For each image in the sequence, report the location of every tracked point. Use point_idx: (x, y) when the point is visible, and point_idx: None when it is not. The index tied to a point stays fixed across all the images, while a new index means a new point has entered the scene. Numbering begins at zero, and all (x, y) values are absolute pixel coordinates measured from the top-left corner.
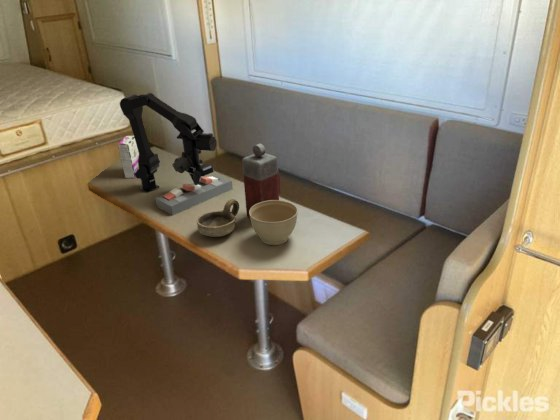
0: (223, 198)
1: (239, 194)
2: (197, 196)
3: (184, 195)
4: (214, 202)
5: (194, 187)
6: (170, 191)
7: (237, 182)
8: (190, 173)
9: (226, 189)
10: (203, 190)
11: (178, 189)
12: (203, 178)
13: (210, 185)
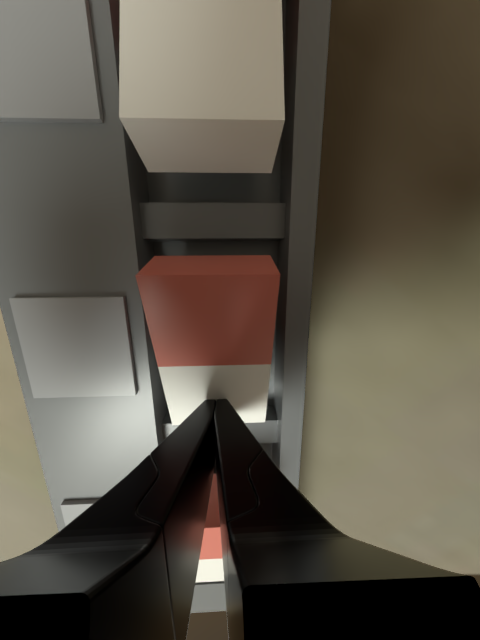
0: (32, 434)
1: (18, 520)
2: (3, 269)
3: (93, 158)
4: (14, 362)
5: (160, 354)
6: (274, 6)
7: None
8: (228, 549)
9: None
10: (52, 382)
11: (179, 102)
12: (218, 527)
13: None
